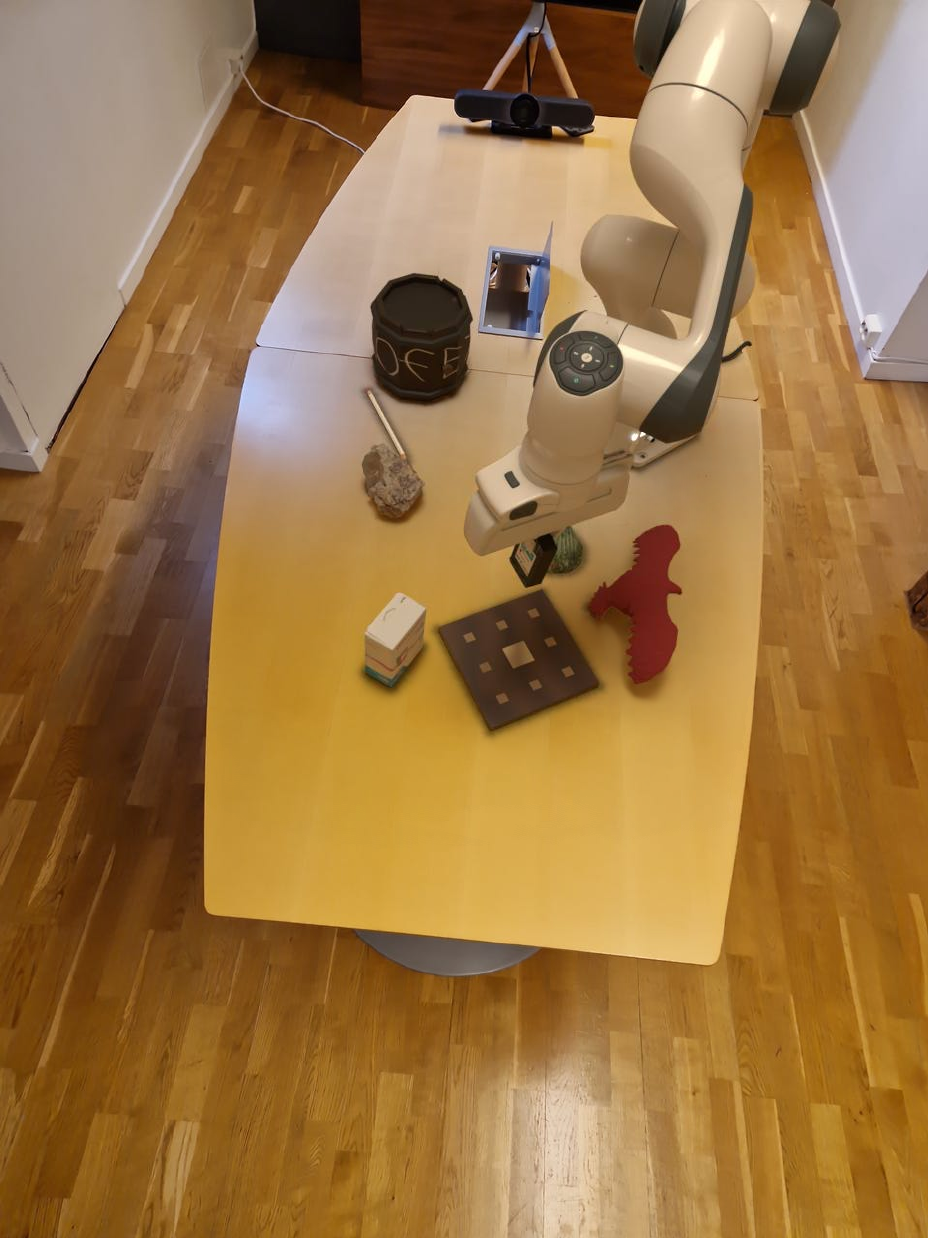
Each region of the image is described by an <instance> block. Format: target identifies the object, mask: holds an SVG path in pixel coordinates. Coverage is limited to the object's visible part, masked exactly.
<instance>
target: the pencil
mask: <svg viewBox="0 0 928 1238" xmlns="http://www.w3.org/2000/svg"><path fill="white" fill-rule="evenodd" d="M365 392H366V394H367V395H368V398H369V399H370V401H371V403H372V405H373V406H374V408H375V410H376V412H377V414H378V416H379V418H380V419H381V422H382V423H383V425H384V427H385V429H386V431H387V432H388V435H389V436H390V439H391V440H392V442H393V444H394V446H395V448H396V449H397V451H398V453H399V456H404V457H406V458H407V456H406V453H405V451H404V450H403V447H402V446H401V444H400V442H399V440H398V438H397V436H396V434H395V433H394V431H393V429H392V427H391V425H390V424H389V422H388V420H387V417H386V416H385V415H384V413H383V411H382V409H381V407H380V405H379V404H378V402H377V400H376V398H375V396H374V394H373V392H372V391H371V389H370V388H369V387H368V388H366V389H365Z"/></svg>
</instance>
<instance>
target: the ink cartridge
mask: <svg viewBox="0 0 928 1238" xmlns="http://www.w3.org/2000/svg"><path fill="white" fill-rule="evenodd" d="M534 541H535V542H536V545H535V548H534V550H533V552H532V554H530V553H529V552H528V550H527V548H526V547H525V542H522V543H519V544H516V545H514V547H513V549H512V552H511V555H510V556H509V557H508V558H509V563H510V564H511V566H512V569H513V570H514V571H515V573H516V575H517V577H518V578H519V580H520V582H521V583H522V585H523V587H524V588H525V589H528V588H532V587H535V586H536V587H537V586H539V585H542V584H543V581H544V579H545V577H546V575H547V573H548V569H549V566H550V564H551V562H552V560H553V558H554V556H555V554H556V551H557V549H558V547H557V546H556V544H555V541H554V539H553V537H552V536H551V535H550V534H549V533H548V534H545V535H542V536H540V537H538V538H537V539H534Z"/></svg>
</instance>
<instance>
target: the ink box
mask: <svg viewBox="0 0 928 1238" xmlns="http://www.w3.org/2000/svg"><path fill="white" fill-rule="evenodd" d="M426 616H427V606H425V605H423V604H421V603H420V602H418V601H416V600H414V599H412V598H411V597H410V596H408V595H406V594H405V593H403V592H400V591H399V592H397V593H395V594H394V596H393V597H392V598H391V599H390V600H389V602H388V603H387V604H386V605H385V606H384V607H383V609H382V610H381V611H380V612H379V614H378V615H377V616H376V617H375V618H374V620H373V621H372V622H371V623H370V624H369V625H368V626H367V627H366V631H365V632H364V667H365V668H364V672H365V673H366V674H367V675H368V676H370V677H372V678H374V679H375V680H377V681H379V682H381V683H382V684H384V685H385V686H388V687H390V688H392V687H393V686H394V685H395V684H396V682H397V681H398V680H399V678H400V677H401V676H402V675H403V673H404V672H405V670H406V669H407V668H408V667H409V665H410V664H411V663H412V661H414V659H415V658H416V657H417V655H418V654H419V652H421V650H422V649H423V647H424V646H423V644H424V635H425V624H426V618H427V617H426Z"/></svg>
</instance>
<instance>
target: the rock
mask: <svg viewBox="0 0 928 1238" xmlns="http://www.w3.org/2000/svg"><path fill="white" fill-rule="evenodd" d="M361 469H362V474H363V475H364V477H365V485H366V489H367V491H368V492H367V495H368V496H369V498H372V499H373V500H374V502H375V504H376V509H377V512H378V513H379V514H380V515H382V516H385V517H389V518H390V519H391V518H393V519H397V518H401V517H402V516H403V515H404V513H406V512H408V511H409V510H410V509H411V507H412V506H413V505H414V504H416V502H417V500H418V499H419V497H420V496H421V495H422V494H423V488H424V487H425V485H426V483H425V481H424V480H422V479H421V478H420V477H419V475H418V474H417V470H415V469H414V468H413V465H412V464H411V463H409V460H408V458H407V456H406V457H404V456H401V455H400V454H398V453H396V451H395V450H393V449H391V448H390V447H389V446H388V445H387V444H385V443H383V442H382V443H380V444H373V445H371V447H370V451H369V452H367V453H366V454H365V455H364V456H363V460H362V462H361Z"/></svg>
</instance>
